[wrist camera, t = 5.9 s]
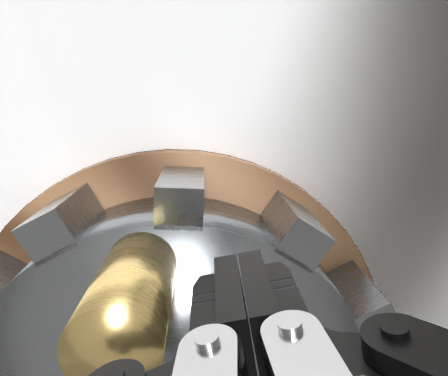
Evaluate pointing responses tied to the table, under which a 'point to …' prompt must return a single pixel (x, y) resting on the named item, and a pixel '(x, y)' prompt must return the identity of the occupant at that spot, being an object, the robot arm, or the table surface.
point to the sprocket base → (213, 189)
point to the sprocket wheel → (152, 274)
